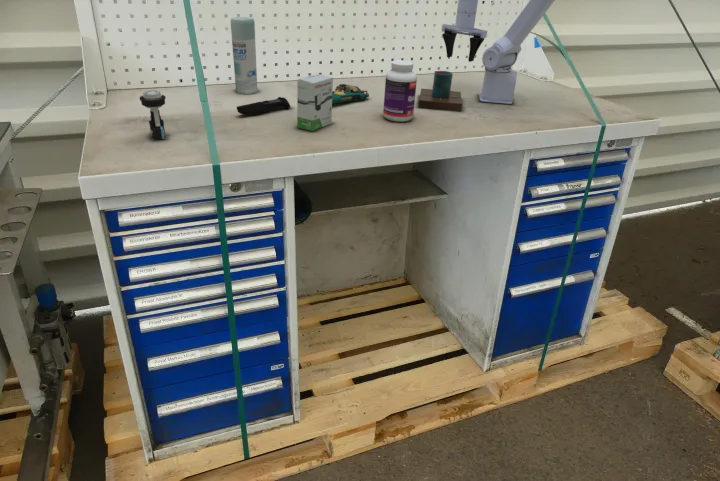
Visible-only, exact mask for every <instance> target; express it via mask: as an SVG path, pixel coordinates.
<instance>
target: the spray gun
mask: <svg viewBox="0 0 720 481" xmlns="http://www.w3.org/2000/svg"><path fill="white" fill-rule="evenodd" d="M367 98H370V94H369V93H368V90H363V89H361V88H359V86H356V85H351V84H345V83H342V84H341V83H340V84H338V85H337V86H336V87H335V89H334V90H332V105H333V104H341V103H346V102H353V101H354V102H355V101H365V100H366V99H367Z"/></svg>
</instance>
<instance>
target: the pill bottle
mask: <svg viewBox="0 0 720 481" xmlns="http://www.w3.org/2000/svg"><path fill="white" fill-rule="evenodd" d="M390 68H391V70H388V72H386V74H385V80H384V83H385V84H384V98H383V109H382V115H383V117H384V118H385V119H386V120H388V121H392V122H397V123H399V122H400V123H401V122H408V121H411V120H412V119H413V117H414V114H415V112H414V111H415V102H416V93H417V92H416V90H417V83H418V82H417V80H418V76H417V74H416V73H415V72H414V71H413V69H414V62H413V61H409V60H401V59H399V60H397V59H396V60H392V61H391V66H390Z"/></svg>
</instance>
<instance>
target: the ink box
mask: <svg viewBox="0 0 720 481" xmlns="http://www.w3.org/2000/svg"><path fill="white" fill-rule="evenodd" d="M296 85H297V93H296V94H297V102H296V103H297V104H296V105H297V115H296V116H297V119H296V120H297V123H296V124H297V128H298V129H302V130H306V131H310V132H314V131H316V130H319V129H321V128H324V127H326V126H328V125H330V124H331V125H332V120H333V119H332V117H333V113H332V112H333V104H332V91H334V90H333V89H334V88H333V87H334V86H333V85H334V77H333V76H330V75H329V76H328V75H325V74H321V73H314V74H309V75H306V76H302V77H299V78H297V84H296Z"/></svg>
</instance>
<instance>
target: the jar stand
mask: <svg viewBox="0 0 720 481" xmlns="http://www.w3.org/2000/svg"><path fill="white" fill-rule="evenodd" d="M432 89H433V88H421V89H420V93H419V98H418V108H419V109H429V110H441V111H451V112H461V111H462V108H463V107H462V106H463V100H462V92H461V91H456V90H455V91H454V90H450V97H448V98H437V97H434V96H432Z"/></svg>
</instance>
